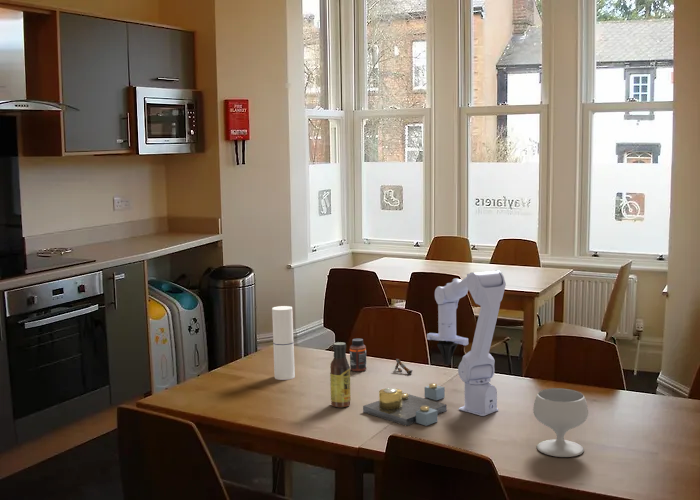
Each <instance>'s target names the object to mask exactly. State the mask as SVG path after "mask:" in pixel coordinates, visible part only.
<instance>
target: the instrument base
mask: <svg viewBox="0 0 700 500" xmlns="http://www.w3.org/2000/svg"><path fill="white" fill-rule="evenodd" d="M378 398H379V399H378V400H376V401H373V402H371V403H368V404H367V403H366V404H365V405H362V412H363V413H364V414H368V415H370V416H374V417H377V418H381V419H384V420H387V421H389V422H393V423H396V424H399V423H400V424H399V425H403V426H405V425H406V426H407V427H408V426H410V424H411V425H413V424H415V423H416V411H418V410H420V407H421V406H429V408H431V409H435V410H438V415H440V414H443V413H445V412H447V410H448V409H447V408H448V407H447V404H445V403H443V402H438V401H436V400H432V399H429V398H425V397H420V396H416V395H413V394H410V393H407V392H403V390H402V389H399V388H395V387H386V388H382V389H380V390H378ZM442 412H443V413H442ZM416 424H417V423H416Z"/></svg>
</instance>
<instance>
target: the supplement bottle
mask: <svg viewBox="0 0 700 500" xmlns="http://www.w3.org/2000/svg"><path fill="white" fill-rule="evenodd" d="M351 343H352V344H351V345H349V362H350V363H349V367H350V371H352V372H359V373H360V372H364V371H366V370H367V346H366V345H365V344H364V339H363V338H353V339H352V340H351Z"/></svg>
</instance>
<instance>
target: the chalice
mask: <svg viewBox="0 0 700 500" xmlns="http://www.w3.org/2000/svg"><path fill="white" fill-rule="evenodd" d="M532 411H533V414H534V417H535V419H536V420H537V421H538V422H539V423H541V424H542V425H544V426H546V427H547V428H549V429H552V430H553V432H554V433H555V434H556V439H553V438H552V439H547V440H543V441H540V442H539V443H538V444H537V445H536V449H537V450H538V451H539V452H540V453H542V454H545V455H548V456H553V457H559V458H570V457H571V458H572V457H577V456H579V455H582V454H583V453H584V452H585V449H584V447H583V446H582V445H581V444H579V443H577V442H575V441H571V440H567V439H565V438H564V437H565V435H566V433H567V432H568V431H570V430H572V429H574V428H577V427H579V426H581V425H583V424H584V423H585V422H586V421H587V419H588V417H589V407H588V402H587V400H586V397H585V395H584V394H583V393H582V392H581V391H578V390H574V389H569V388H561V387H559V388H557V387H555V388H554V387H552V388H544V389H543V390H540V391H539V392H538V393H537V394H536V396H535V399H534V402H533V409H532Z"/></svg>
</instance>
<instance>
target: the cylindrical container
mask: <svg viewBox="0 0 700 500" xmlns="http://www.w3.org/2000/svg"><path fill="white" fill-rule="evenodd" d="M293 315H294V314H293V306H291V305H290V306H289V305H278V306H273V307H272V308H271V317H272V341H273V344H272V346H273V365H274V366H273V370H274V371H273V372H274V379H275V380H279V381H287V380H292V379H294V378H295V377H296V375H295V371H296V370H295V348H294V346H295V345H294V343H295V342H294V319H293V318H294V316H293Z"/></svg>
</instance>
